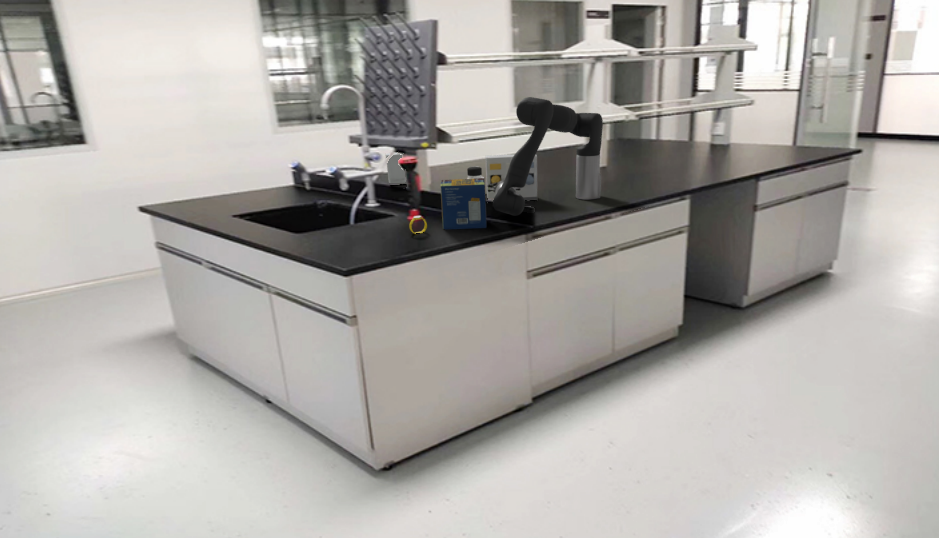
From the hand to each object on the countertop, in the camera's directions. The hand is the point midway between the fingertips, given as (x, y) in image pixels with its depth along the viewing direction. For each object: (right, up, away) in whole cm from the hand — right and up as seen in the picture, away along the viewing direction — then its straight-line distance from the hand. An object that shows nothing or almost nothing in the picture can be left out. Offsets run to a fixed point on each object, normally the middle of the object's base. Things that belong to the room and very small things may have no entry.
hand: (502, 182), depth 239 cm
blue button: (+11, 0, +5) cm, 12 cm away
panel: (+4, -6, +11) cm, 13 cm away
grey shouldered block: (-47, +6, +51) cm, 69 cm away
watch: (-30, -22, -30) cm, 47 cm away
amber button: (-2, 0, +7) cm, 7 cm away
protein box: (-15, -18, -22) cm, 32 cm away
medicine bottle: (-10, -2, +22) cm, 25 cm away
